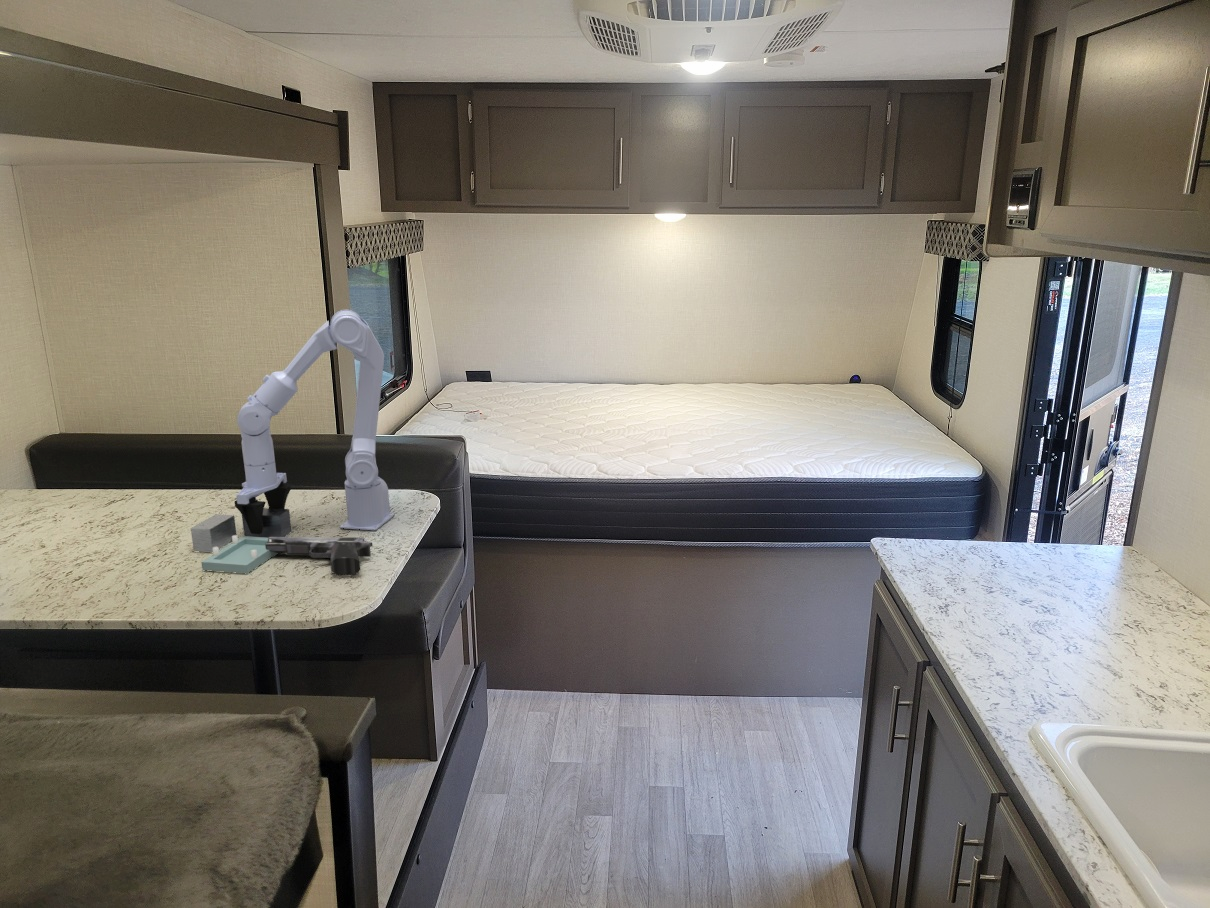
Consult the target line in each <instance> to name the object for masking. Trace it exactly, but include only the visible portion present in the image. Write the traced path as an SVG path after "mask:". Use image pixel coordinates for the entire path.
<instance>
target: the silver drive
mask: <svg viewBox="0 0 1210 908" xmlns="http://www.w3.org/2000/svg"><path fill="white" fill-rule="evenodd" d="M190 533H191V540H192V542H191V543H192V547H193V552H194V551H199V552H198V553H200V552H213V549H212V548H213V547H218V549H219V550H221V549H222V548H224V547H226V546H228V545H229V544H231V543H233V541H232V536H233V535H237V536H238V534H237V528H236V519H235V515H233V514H219V513H218V514H213V515H212V516H211V517H208V518H207V519H204V520H203V521H201V522H199V523H198V524H195V525H194V526H192V527H191V528H190ZM228 543H229V544H228ZM223 546H224V547H223ZM221 547H222V548H221ZM220 548H221V549H220Z"/></svg>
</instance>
